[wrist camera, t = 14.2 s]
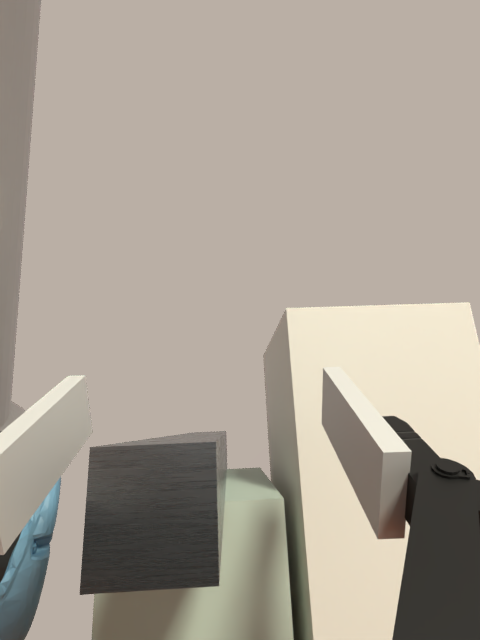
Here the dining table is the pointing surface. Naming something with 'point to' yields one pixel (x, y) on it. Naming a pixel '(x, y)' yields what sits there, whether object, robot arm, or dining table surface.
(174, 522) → the steel block
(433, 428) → the two-step stand
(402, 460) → the robot arm
